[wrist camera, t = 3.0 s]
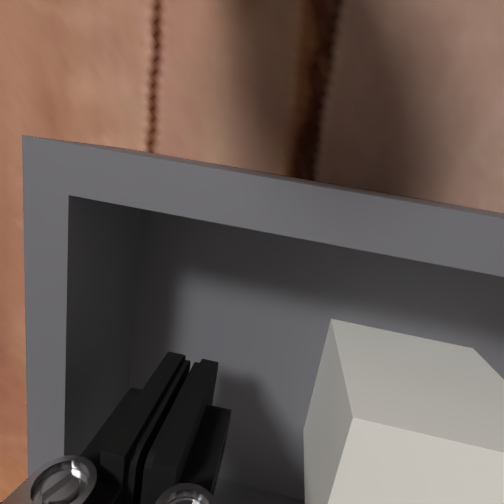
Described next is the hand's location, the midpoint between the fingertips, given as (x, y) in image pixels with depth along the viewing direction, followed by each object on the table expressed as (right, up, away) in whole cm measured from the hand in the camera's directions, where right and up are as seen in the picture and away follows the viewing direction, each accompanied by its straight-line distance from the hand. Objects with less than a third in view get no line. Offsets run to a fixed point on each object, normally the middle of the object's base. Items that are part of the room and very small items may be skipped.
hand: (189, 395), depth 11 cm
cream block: (+7, -1, +2) cm, 7 cm away
